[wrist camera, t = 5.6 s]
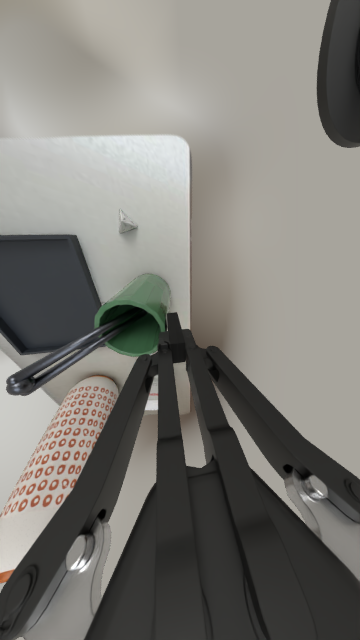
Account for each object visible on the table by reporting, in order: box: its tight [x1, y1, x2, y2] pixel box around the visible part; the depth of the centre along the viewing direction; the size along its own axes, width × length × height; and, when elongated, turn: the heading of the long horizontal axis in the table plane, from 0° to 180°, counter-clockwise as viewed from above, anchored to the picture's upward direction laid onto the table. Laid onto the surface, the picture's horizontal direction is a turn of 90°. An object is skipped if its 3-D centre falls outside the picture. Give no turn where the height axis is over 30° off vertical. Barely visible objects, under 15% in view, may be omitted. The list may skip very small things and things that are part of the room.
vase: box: [0, 375, 119, 583], centre depth 29 cm, size 13×13×28 cm
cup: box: [94, 274, 171, 357], centre depth 22 cm, size 9×9×14 cm
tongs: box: [6, 307, 149, 396], centre depth 19 cm, size 2×11×21 cm, turn 90°
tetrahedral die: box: [119, 209, 138, 233], centre depth 21 cm, size 4×3×3 cm
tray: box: [0, 235, 106, 355], centre depth 26 cm, size 23×20×2 cm
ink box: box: [145, 375, 158, 410], centre depth 36 cm, size 9×5×12 cm, turn 75°
